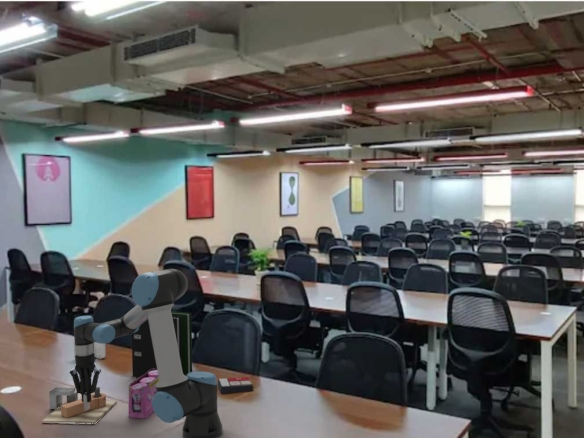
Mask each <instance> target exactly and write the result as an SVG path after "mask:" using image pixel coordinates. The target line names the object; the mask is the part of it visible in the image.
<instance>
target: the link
mask: <svg viewBox="0 0 584 438" xmlns="http://www.w3.org/2000/svg"><path fill="white" fill-rule="evenodd" d="M106 401H107V394H105V393H103V392H100V397H98V398H95V393H92V394H91V401H90V409H88V410H91V409H94V408H100V407H103V406H105V405H106ZM88 410H87V411H88ZM83 412H85V411H84V402H82V398H81V399H78V400H77V401H74V402H71V403H68V404H65V405H63V404H62V406H61V415H62V416H64V417H66V418H68V417H71V416H74V415H77V414H80V413H83Z"/></svg>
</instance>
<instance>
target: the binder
mask: <svg viewBox="0 0 584 438" xmlns="http://www.w3.org/2000/svg"><path fill="white" fill-rule="evenodd" d="M171 313H172V319H173V324H174V329H175V334H176V340H177V345H178V350H179V356H180V361H181V366H182V371H183V374H184V375H185V376H187V374H188V373H190V372H193V334H192V333H193V332H192V329H193V328H192V327H193V326H192V312H183V311H172V310H171ZM131 360H132V369H131V370H132V371H131V372H132V377H133V378H140V377H141V376H142V375H144V374H145V373H146V372H148V371H149V370H150V369H152V368H154V369H157V365H156V359H155V354H154V348H153V343H152V338H151V332H150V327H149V321H148V320H146V321H145V322H144V323H143V324H141V325H140V327H139V330H138V331H137V332H135V333H133V334H131Z"/></svg>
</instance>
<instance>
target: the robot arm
mask: <svg viewBox="0 0 584 438" xmlns="http://www.w3.org/2000/svg"><path fill="white" fill-rule="evenodd" d="M188 285H189V283H188V278H187V277H186V275H185V273H183V272H182V271H180V270H179V269H175V268H168V269H160V270H153V271H148V272H144V273H142V274H139V275H138V276H136V277H135V279H134V282H133V283H132V285H131V296H132V301H133V302H135V304H136V305H135V306H134V307H133V308H131V309H130V310H129V311H128V312H127V313H126V314H124V315H123V316H121V317H120V318H116V319H112V320H109V321H105V322H100V323H98V322H94V317H93V316H91V315H81V316H77V317H75V318H74V320H73V337H74V339H73V340H74V342H75V354H76V355H75V358H74V362H75V365H74V368H73V369H71V370H70V371H69V374H70V375H71V377H72V381H73V384H74V388H75V392H77V393H78V394H80V395H81V399H82V402H84V411H87V410H88V409H90V401H91V395H92V394H94V393H95V391H96V387H98V386H97V385H98V381H99V375H100V374H101V373H102V369H101V368H97V366H96V364H95V360H96V359H95V358H96V357H95V356H94V353H93V352H94V342H97V343H101V344H103V343H104V344H105V345H107V344H110V343H111V342H112V341H113V340H114V339H115V340H116V339H118V338H121V337H125V336H130V335H131V336H132V334H133V333H135V332H137V331H138V330H139V327H140V325H141V324H143V323H144V322H145V321H146V320H148V321H149V327H150V332H151V338H152V343H153V348H154V354H155V359H156V365H157V370H158V375H159V382H158V383H157V385H156V389H157V393H156V394H155V395H154V396H153V399H152V407H153V410H154V411H153V412H154V413H155V416H156V417H157V418H158V419H160V421H162V422H163V423H166V424H171V423H174V422H177V421H180V420H182V419H185V420H184V423H183V426H182V437H183V438H218V437H219V436H221V435H222V434H223V424H222V421H221V418H220V415H219V413H218V412H219V411H218V379H217V376H216V374H215V373H212V372H210V371H192V372H190V373H188V374H187V376H185V375H184V374H183V371H182V366H181V361H180V356H179V350H178V345H177V340H176V334H175V329H174V324H173V319H172V313H171V311H172V308H173V307H174V305H175V304H174V303H175V302H176V301H178V300H179V299H180V298H181V297H183V296H184V295H185V293H186V292H187V289H188ZM92 374H93V375H92ZM92 376H93V377H92Z"/></svg>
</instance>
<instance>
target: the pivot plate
mask: <svg viewBox="0 0 584 438" xmlns="http://www.w3.org/2000/svg"><path fill="white" fill-rule="evenodd" d="M100 393H101V387H100V386H97V387H96V391H95V392H94V394H95V398H98V397H100ZM117 403H118V402H117V400H106V405H105V406H103V407H100V408H94V409H91V410H88V411H85V412H83V413H80V414H77V415H74V416H71V417H68V418H66V417H64V416H62V415H61V406H62V405H65V404H68V403H67V401H66V402H63V403H62V405H61V406H60V407H59V408H58V409H56V410H53V411H52V412H51V413H49V415H47V416H46V417H44V419H42V420H41V422H42V421H47V422H48V421H49V422H75V423H85V424H87V423H91V424H92V423H93V424H95V423H96V422H97V421H98V420H99V419H100V418H101V419H102V418H104V416H106V414H107V413H109V412H110V411H111V410H112V408H115V406H116V405H117ZM101 419H100V420H101ZM100 420H99V421H100ZM99 421H98V422H99ZM98 422H97V423H98ZM97 423H96V424H97ZM96 424H95V425H96Z"/></svg>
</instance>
